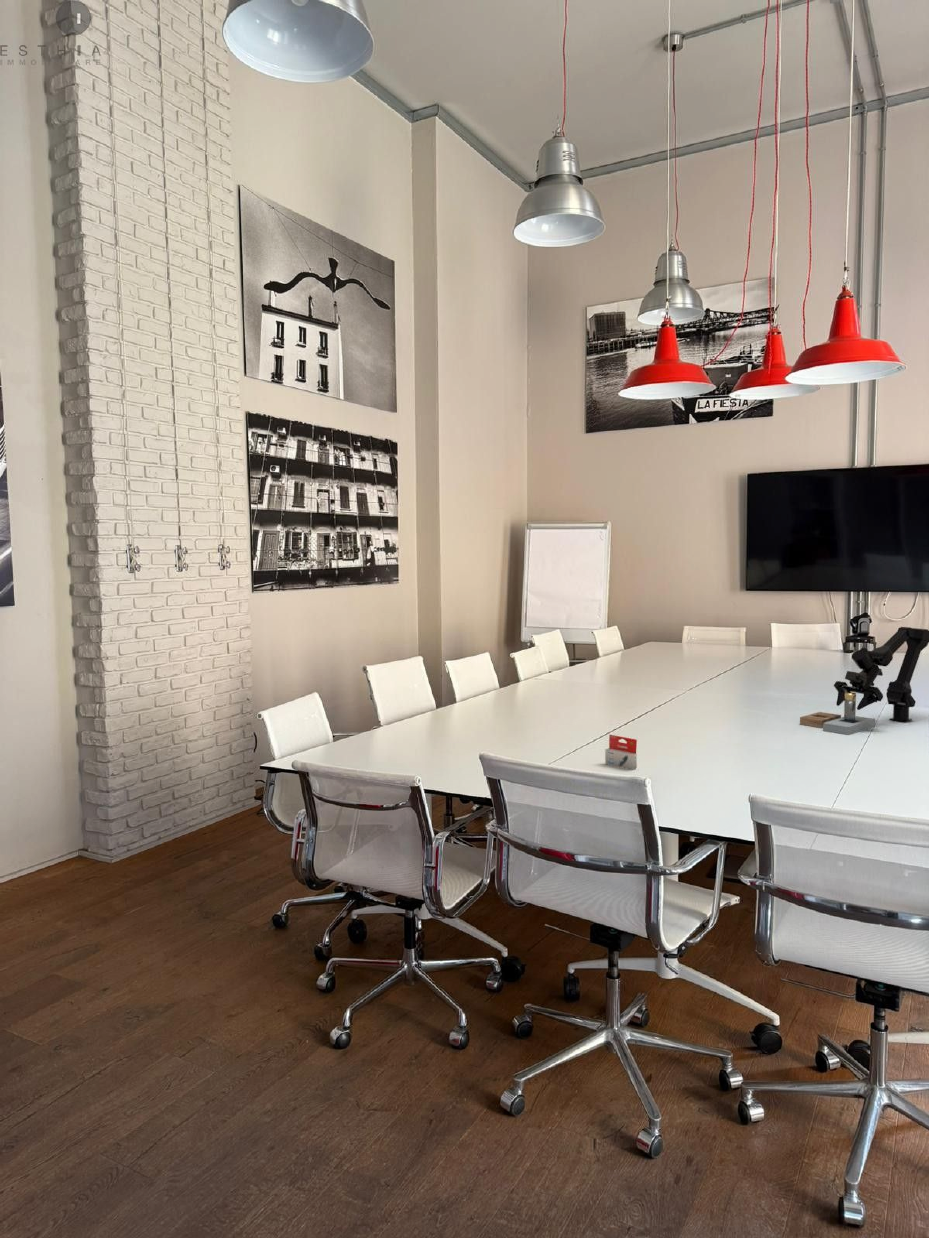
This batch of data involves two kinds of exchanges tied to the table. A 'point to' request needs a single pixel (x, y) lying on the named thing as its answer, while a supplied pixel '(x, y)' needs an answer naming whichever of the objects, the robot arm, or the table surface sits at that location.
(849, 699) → the gold capped metal post
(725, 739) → the table surface
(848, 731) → the board
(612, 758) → the ink cartridge box
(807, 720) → the socket block
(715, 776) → the table surface
